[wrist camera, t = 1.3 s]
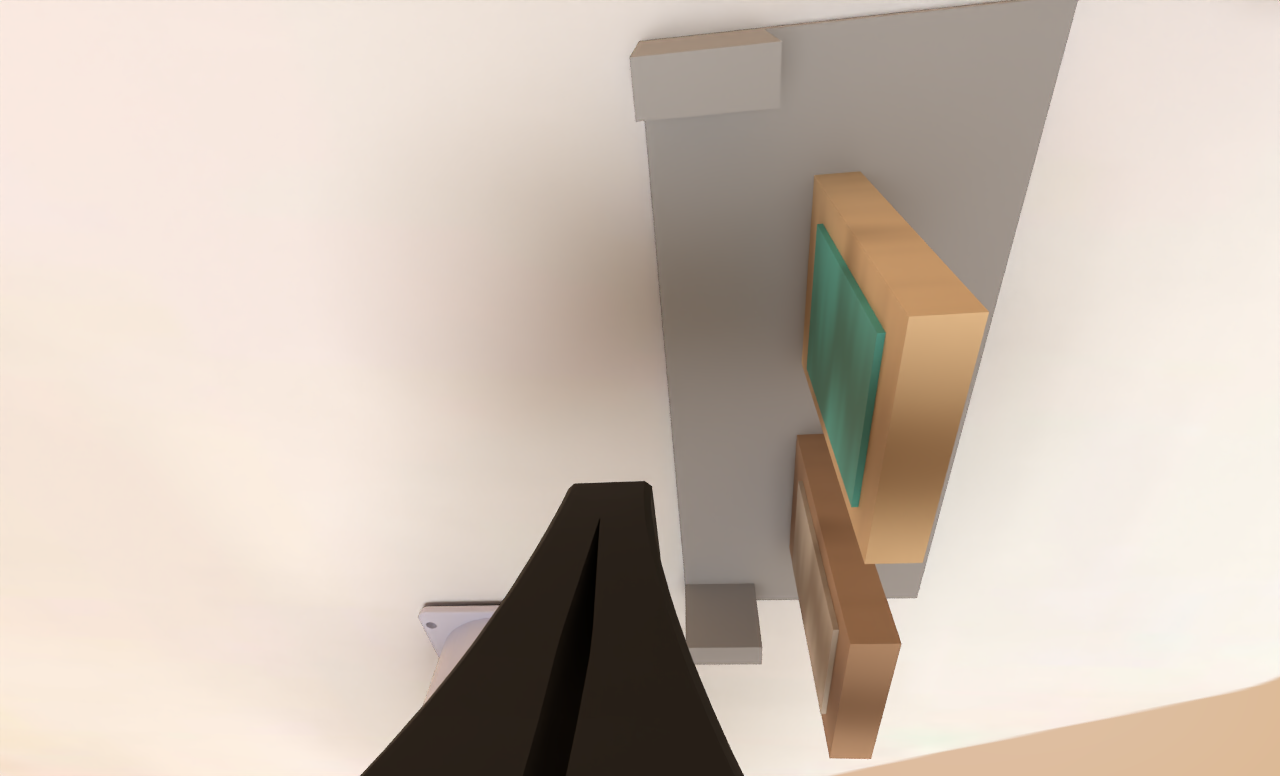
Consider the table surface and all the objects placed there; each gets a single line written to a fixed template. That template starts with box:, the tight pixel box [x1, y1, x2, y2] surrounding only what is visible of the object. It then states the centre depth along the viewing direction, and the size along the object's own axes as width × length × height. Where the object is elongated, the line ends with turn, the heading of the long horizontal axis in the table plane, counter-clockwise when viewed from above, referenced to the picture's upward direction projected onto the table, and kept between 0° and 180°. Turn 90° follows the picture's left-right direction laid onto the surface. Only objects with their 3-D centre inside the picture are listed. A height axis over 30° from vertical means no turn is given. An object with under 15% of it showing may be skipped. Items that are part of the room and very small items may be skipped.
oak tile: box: [802, 171, 989, 564], centre depth 14 cm, size 6×1×8 cm, turn 6°
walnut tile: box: [789, 434, 901, 759], centre depth 19 cm, size 6×1×8 cm, turn 6°
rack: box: [630, 0, 1078, 664], centre depth 19 cm, size 22×10×4 cm, turn 6°
